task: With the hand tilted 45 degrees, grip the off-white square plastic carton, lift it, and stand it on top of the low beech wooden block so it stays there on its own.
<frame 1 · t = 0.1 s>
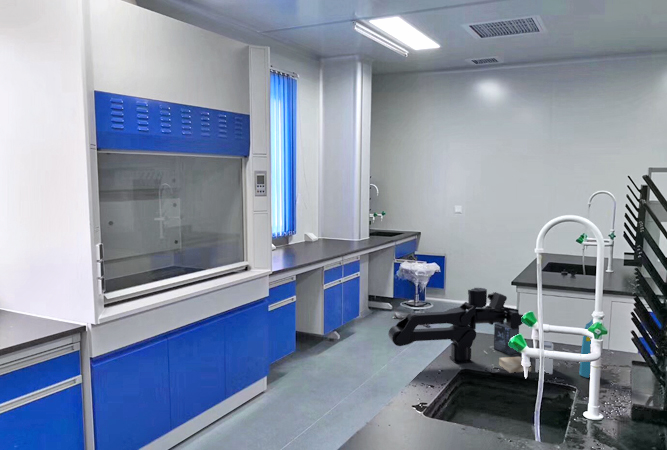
hand: (524, 313, 193), 17 cm above the countertop, tool horizontal, fingers open, 9 cm apart
carton: (544, 370, 179), on the countertop
block: (514, 369, 182), on the countertop
blue plastic bottle: (587, 376, 174), on the countertop
box: (506, 351, 201), on the countertop
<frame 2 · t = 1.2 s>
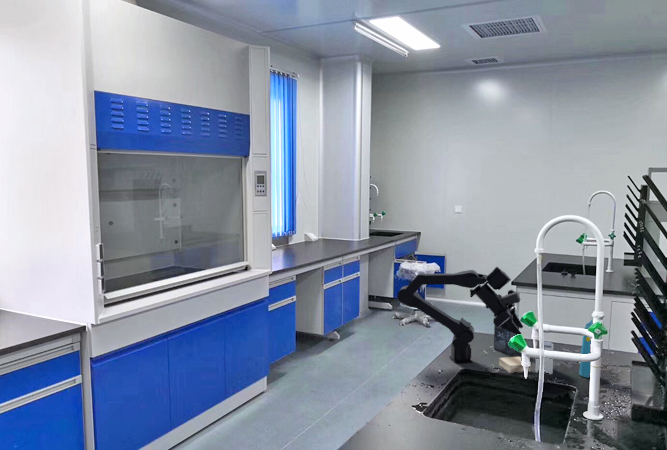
hand: (521, 331, 181), 13 cm above the countertop, tool tilted 45°, fingers open, 9 cm apart
nothing on the countertop moved.
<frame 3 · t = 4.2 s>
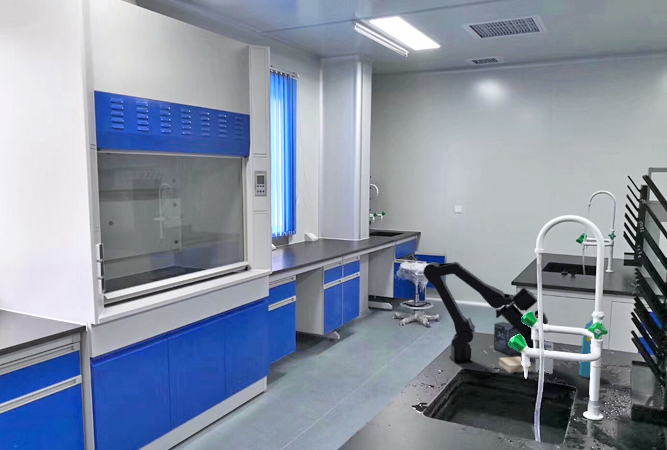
hand: (548, 352, 178), 7 cm above the countertop, tool tilted 45°, fingers closed on carton, 5 cm apart
carton: (544, 370, 179), on the countertop, touching gripper
everything else where it was.
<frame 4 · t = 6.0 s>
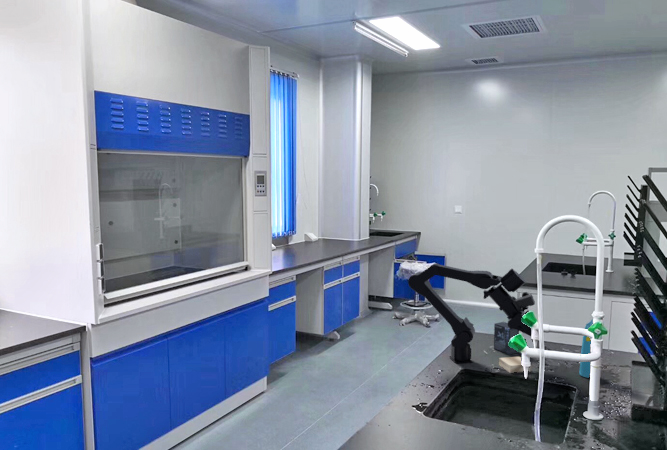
hand: (535, 334, 179), 13 cm above the countertop, tool tilted 45°, fingers closed on carton, 5 cm apart
carton: (530, 351, 180), point 6 cm above the countertop, touching gripper
everything else where it was.
when the fingers open (10 cm above the countertop, at t = 7.9 s): carton drops 1 cm, point 3 cm above the countertop.
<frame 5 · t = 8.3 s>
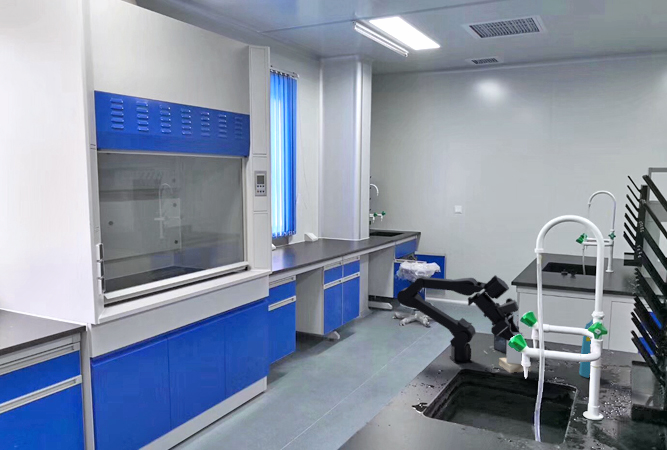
hand: (519, 339, 180), 11 cm above the countertop, tool tilted 45°, fingers open, 9 cm apart
carton: (515, 361, 182), point 3 cm above the countertop
everything else where it was.
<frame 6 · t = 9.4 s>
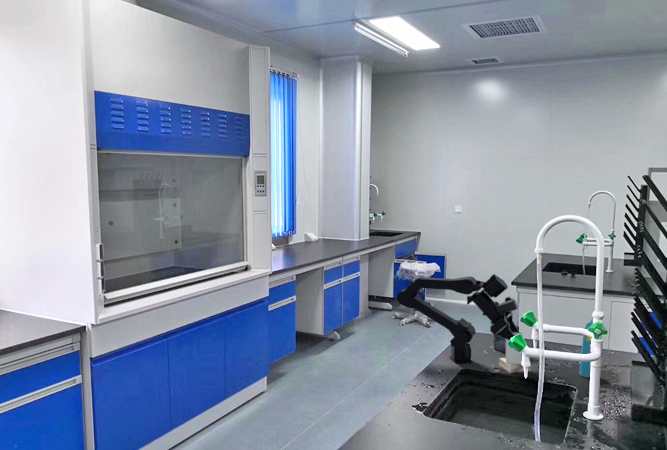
hand: (518, 338, 181), 11 cm above the countertop, tool tilted 45°, fingers open, 9 cm apart
carton: (514, 361, 182), point 3 cm above the countertop, touching block
block: (514, 369, 182), on the countertop, touching carton
everything else where it was.
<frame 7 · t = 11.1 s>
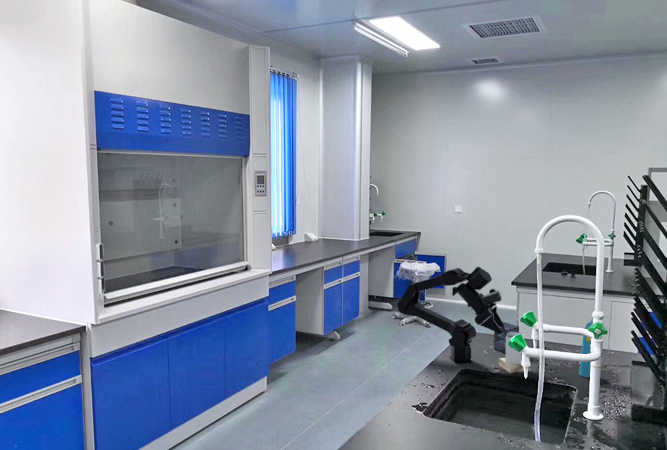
hand: (502, 329, 183), 14 cm above the countertop, tool tilted 45°, fingers open, 9 cm apart
carton: (514, 361, 182), point 3 cm above the countertop
block: (514, 369, 182), on the countertop
everything else where it was.
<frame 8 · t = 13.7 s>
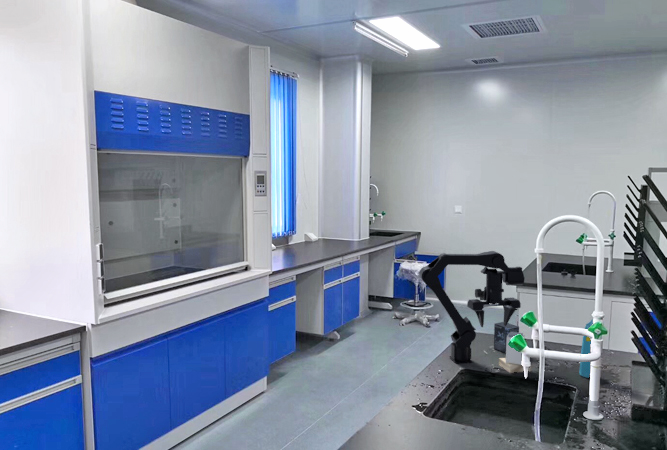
hand: (493, 326, 189), 13 cm above the countertop, tool pointing down, fingers open, 9 cm apart
carton: (514, 361, 181), point 3 cm above the countertop, touching block
block: (514, 369, 182), on the countertop, touching carton
everything else where it was.
at the end: carton 0.3 cm off-centre on the block, point 3.0 cm above the block's base; carton tilted 0°; the gripper is holding nothing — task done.
